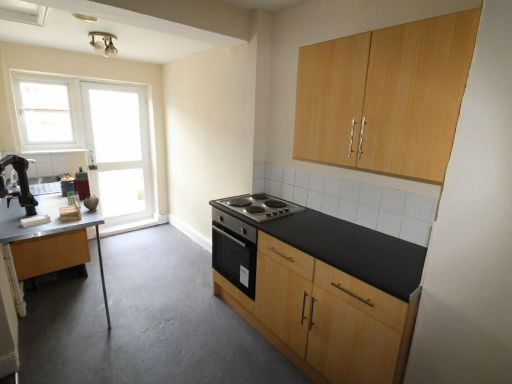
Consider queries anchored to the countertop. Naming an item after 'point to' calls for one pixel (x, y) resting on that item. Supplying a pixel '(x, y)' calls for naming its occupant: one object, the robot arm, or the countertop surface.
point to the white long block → (35, 220)
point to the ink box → (72, 199)
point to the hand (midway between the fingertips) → (3, 209)
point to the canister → (67, 186)
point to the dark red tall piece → (82, 184)
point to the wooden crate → (70, 212)
